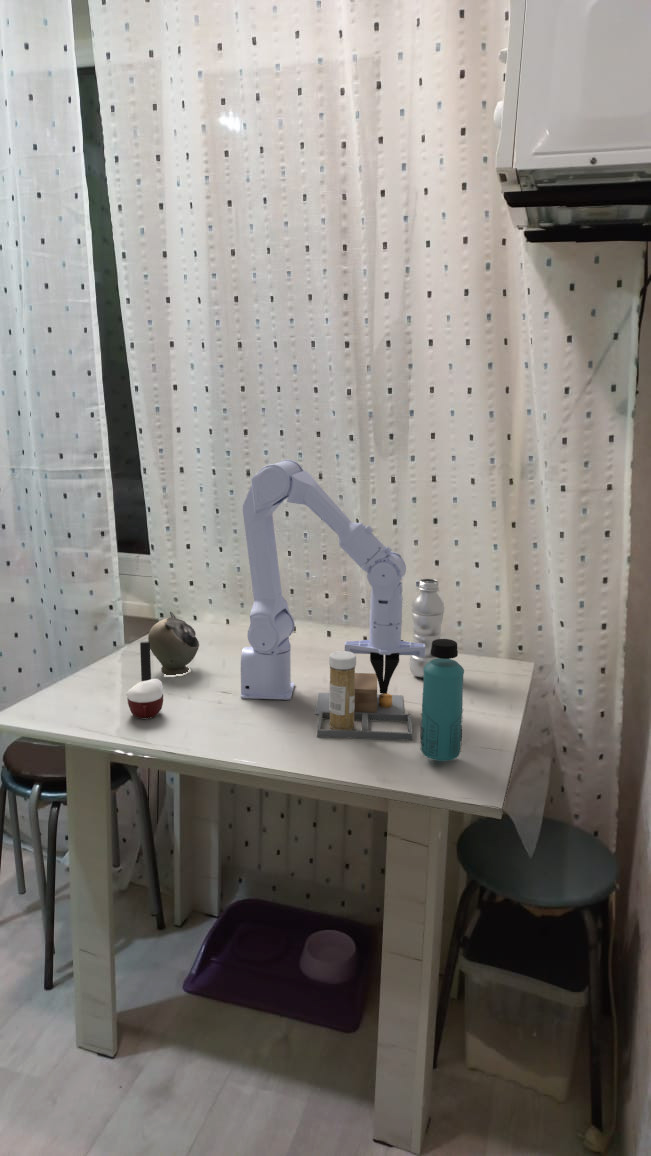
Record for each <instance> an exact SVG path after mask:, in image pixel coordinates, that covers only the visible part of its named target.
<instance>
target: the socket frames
mask: <svg viewBox="0 0 651 1156" xmlns="http://www.w3.org/2000/svg"><path fill="white" fill-rule="evenodd" d="M411 718H412V717H411V714H410V713H404V714H390V713H361V712H354V721H356V720H357V721H361V730H356V729H355V730H354V729H353V730H331V729H325V728H324V729H323V728H322V726H323V720H328V719H329V720H330V711H320V715H318V723H317V728H316V737H317V738H335V739H340V738H341V739H362V740H363V739H366V740H389V741H390V740H391V741H392V740H394V741H395V740H396V741H413V728H412V727H413V726H412V719H411ZM369 721H380V722H382V721H383V722H386V721H388V722H406V723H407V731H385V730H384V731H382V730H381V731H379V730H369V729H368V728H369V726H368V725H369Z"/></svg>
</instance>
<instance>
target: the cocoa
mask: <svg viewBox="0 0 651 1156" xmlns="http://www.w3.org/2000/svg"><path fill="white" fill-rule="evenodd" d="M139 647H140V648H139V650H140V653H139V654H140V675H141V678H140V679H141V680H140V682H138V683H136V684H134V686H132V687H131V688H130V689H128V690H127V691H126V693H125V695H126V698H127V699H126V700H127V704H128V708H129V711H130V712H131V715H132V716H133V717H136V718H138V719H141V718H148V719H151V718H150V717H152V718H154V717H156V716H157V715H159V713H160V712H161V711H162V709H163V705H164V694H163V693H164V692H163V691H164V688H163V682H162V681H161V680H159V678H152V668H151V667H152V666H151V665H152V664H151V649H150V642H149V641H148V640H147V641H146V640H145V641H141V642H140V643H139Z"/></svg>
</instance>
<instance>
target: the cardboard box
mask: <svg viewBox="0 0 651 1156" xmlns="http://www.w3.org/2000/svg"><path fill="white" fill-rule="evenodd" d="M354 684H355V710H354V712H373V713H377V694H378V679H377V676H376V673H374V672H373V673H370V672H369V673H367V672H366V673H365V672H355V683H354Z"/></svg>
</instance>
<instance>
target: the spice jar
mask: <svg viewBox="0 0 651 1156" xmlns="http://www.w3.org/2000/svg"><path fill="white" fill-rule="evenodd" d="M328 659H329V660H328V664H329V693H330V696H329V710H330V719H329V722H328V723H329V724H328V727H329V730H354V729H355V728H356V725H355V720H354V710H355V684H354V683H355V673H356V665H357V654H354V653H352V652H348V651H345V650H338V651H337V650H336V651H333V652H331V653H330V654H329V658H328Z"/></svg>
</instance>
